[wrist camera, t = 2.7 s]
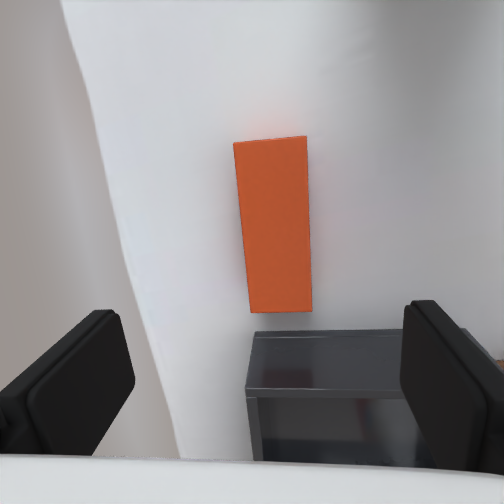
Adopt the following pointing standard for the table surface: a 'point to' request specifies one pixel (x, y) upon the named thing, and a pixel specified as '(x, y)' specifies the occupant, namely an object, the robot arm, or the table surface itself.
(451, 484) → the robot arm
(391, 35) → the table surface
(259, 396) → the dark grey open tray
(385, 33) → the table surface
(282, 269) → the orange rectangular block
